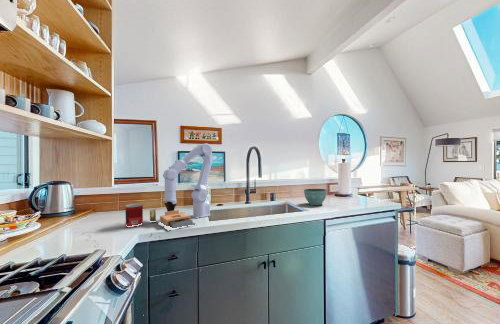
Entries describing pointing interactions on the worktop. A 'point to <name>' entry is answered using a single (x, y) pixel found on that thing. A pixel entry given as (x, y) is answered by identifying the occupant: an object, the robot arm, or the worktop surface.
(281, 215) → the worktop surface
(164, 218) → the orange slotted block
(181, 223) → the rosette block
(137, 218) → the canned food
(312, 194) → the flower pot
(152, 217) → the pin
